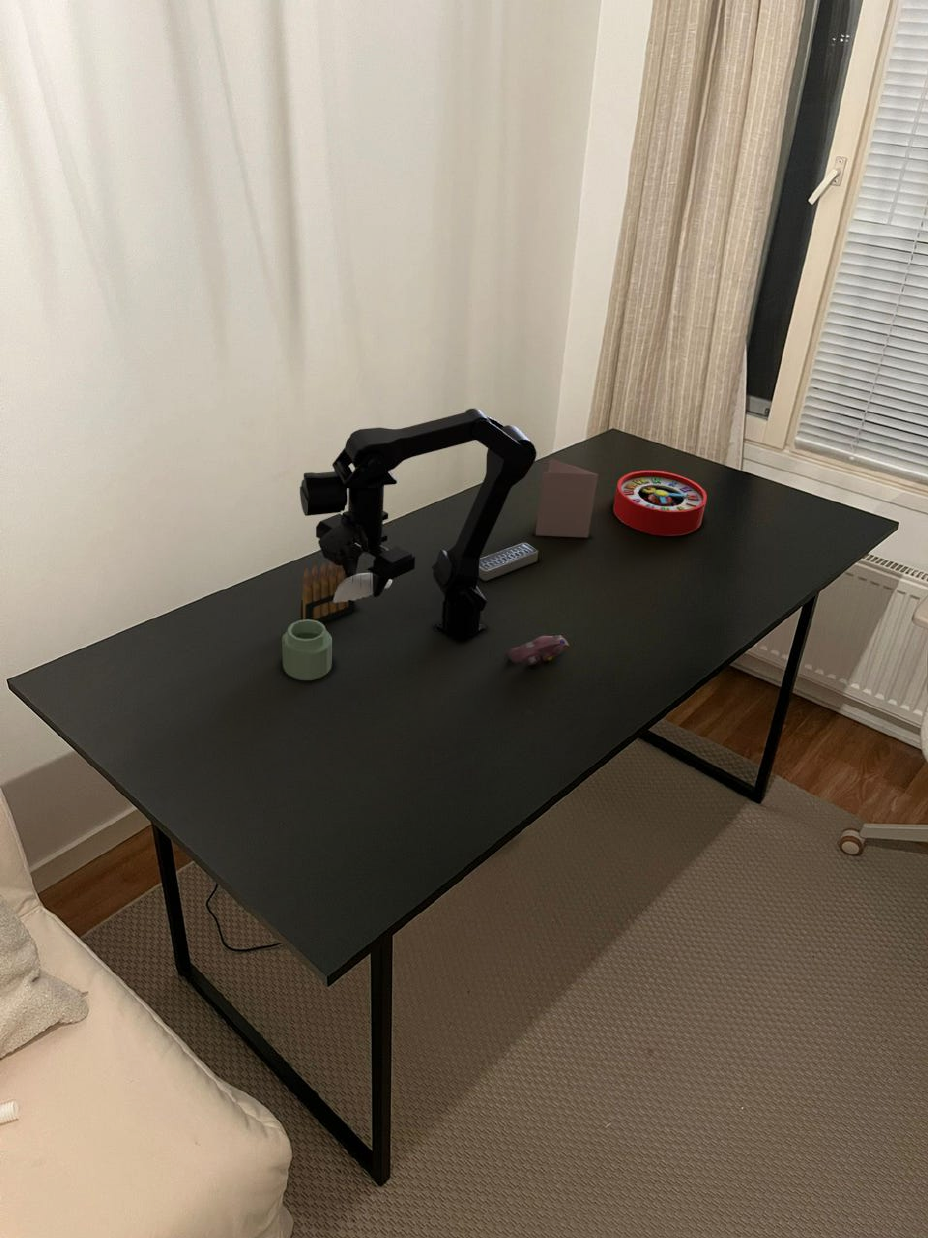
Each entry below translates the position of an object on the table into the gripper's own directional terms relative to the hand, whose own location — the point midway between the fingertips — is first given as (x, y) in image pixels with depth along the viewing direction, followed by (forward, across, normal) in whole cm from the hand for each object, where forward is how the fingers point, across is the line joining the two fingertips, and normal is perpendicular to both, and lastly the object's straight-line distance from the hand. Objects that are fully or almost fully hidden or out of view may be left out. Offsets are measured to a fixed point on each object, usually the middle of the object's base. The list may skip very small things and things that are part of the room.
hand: (363, 588), depth 171 cm
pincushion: (+1, 0, 0) cm, 1 cm away
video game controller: (+12, +24, +20) cm, 34 cm away
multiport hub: (+12, -1, +40) cm, 41 cm away
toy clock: (+11, +7, +84) cm, 85 cm away
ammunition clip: (+12, -10, +1) cm, 16 cm away
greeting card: (+12, -2, +59) cm, 60 cm away
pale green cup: (+12, -2, -11) cm, 16 cm away
